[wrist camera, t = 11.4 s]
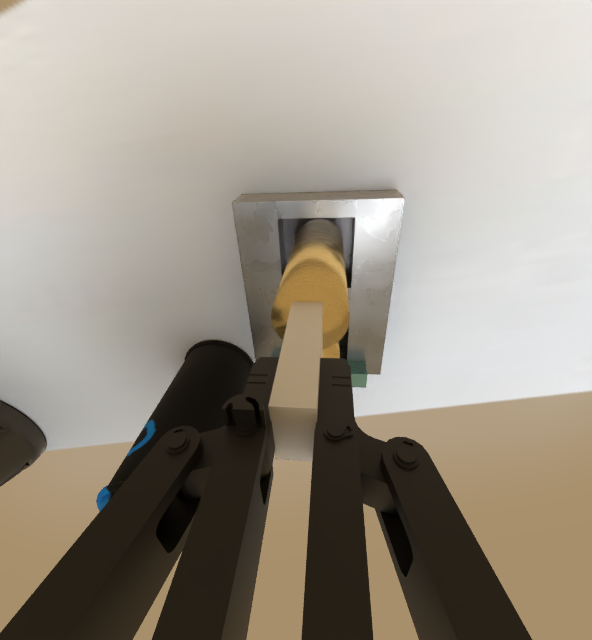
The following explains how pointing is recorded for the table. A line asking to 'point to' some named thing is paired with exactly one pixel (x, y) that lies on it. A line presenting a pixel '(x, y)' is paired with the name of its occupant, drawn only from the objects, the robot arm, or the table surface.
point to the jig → (360, 264)
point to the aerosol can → (189, 402)
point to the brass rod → (315, 280)
